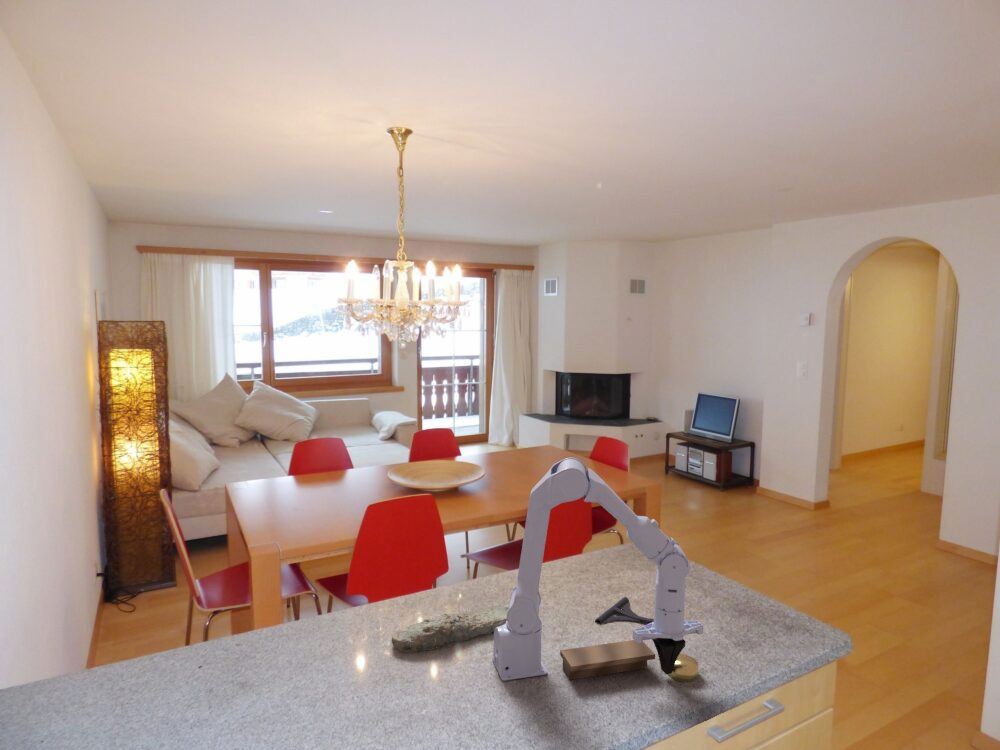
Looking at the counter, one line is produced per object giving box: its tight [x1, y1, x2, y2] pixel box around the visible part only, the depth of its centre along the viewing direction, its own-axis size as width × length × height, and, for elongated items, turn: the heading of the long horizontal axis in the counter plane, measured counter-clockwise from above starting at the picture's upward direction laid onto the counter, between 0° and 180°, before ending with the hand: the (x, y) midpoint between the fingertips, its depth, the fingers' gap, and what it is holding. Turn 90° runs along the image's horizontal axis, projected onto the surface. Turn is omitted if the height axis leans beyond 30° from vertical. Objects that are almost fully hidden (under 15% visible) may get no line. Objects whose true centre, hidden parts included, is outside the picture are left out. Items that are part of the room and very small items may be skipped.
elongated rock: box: [391, 602, 510, 653], centre depth 139 cm, size 35×5×10 cm
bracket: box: [594, 596, 654, 625], centre depth 145 cm, size 14×15×3 cm
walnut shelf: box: [559, 639, 656, 680], centre depth 124 cm, size 18×6×4 cm, turn 105°
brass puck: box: [667, 653, 699, 683], centre depth 124 cm, size 6×6×2 cm
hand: (666, 671), depth 122 cm, fingers closed
